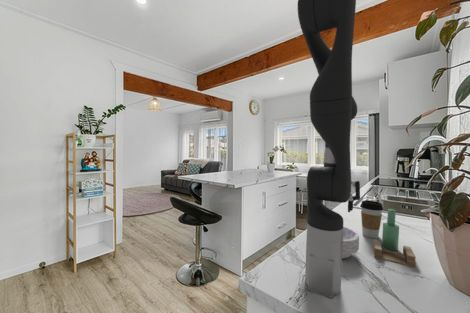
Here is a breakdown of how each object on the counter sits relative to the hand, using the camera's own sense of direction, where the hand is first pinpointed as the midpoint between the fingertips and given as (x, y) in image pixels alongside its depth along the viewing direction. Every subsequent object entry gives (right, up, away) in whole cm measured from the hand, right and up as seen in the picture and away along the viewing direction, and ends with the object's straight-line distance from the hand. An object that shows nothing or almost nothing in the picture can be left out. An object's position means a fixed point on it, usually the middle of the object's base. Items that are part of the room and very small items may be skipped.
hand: (334, 209), depth 70 cm
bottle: (+26, -18, +11) cm, 33 cm away
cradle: (+22, -18, +4) cm, 29 cm away
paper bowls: (+3, -18, +7) cm, 19 cm away
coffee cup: (+26, -17, +22) cm, 39 cm away
